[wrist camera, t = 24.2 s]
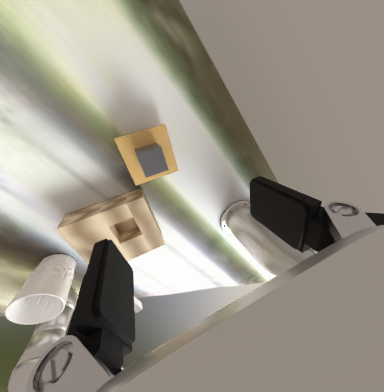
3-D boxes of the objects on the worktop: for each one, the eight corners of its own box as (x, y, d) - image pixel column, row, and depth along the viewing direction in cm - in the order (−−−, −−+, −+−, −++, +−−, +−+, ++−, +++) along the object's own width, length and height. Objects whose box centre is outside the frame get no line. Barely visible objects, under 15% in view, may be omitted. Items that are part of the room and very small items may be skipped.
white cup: (64, 280, 37) (46, 327, 29) (26, 270, 33) (-8, 321, 25) (86, 259, 37) (74, 299, 29) (51, 246, 33) (25, 289, 24)
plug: (160, 124, 30) (171, 124, 23) (173, 165, 35) (185, 178, 27) (115, 136, 29) (111, 142, 21) (135, 179, 33) (137, 196, 26)
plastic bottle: (51, 283, 36) (-14, 421, 20) (84, 284, 40) (52, 403, 23) (43, 302, 38) (-24, 446, 21) (75, 301, 41) (40, 425, 24)
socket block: (141, 187, 34) (143, 197, 30) (161, 231, 42) (164, 244, 37) (65, 214, 31) (55, 229, 27) (100, 257, 38) (97, 274, 34)
